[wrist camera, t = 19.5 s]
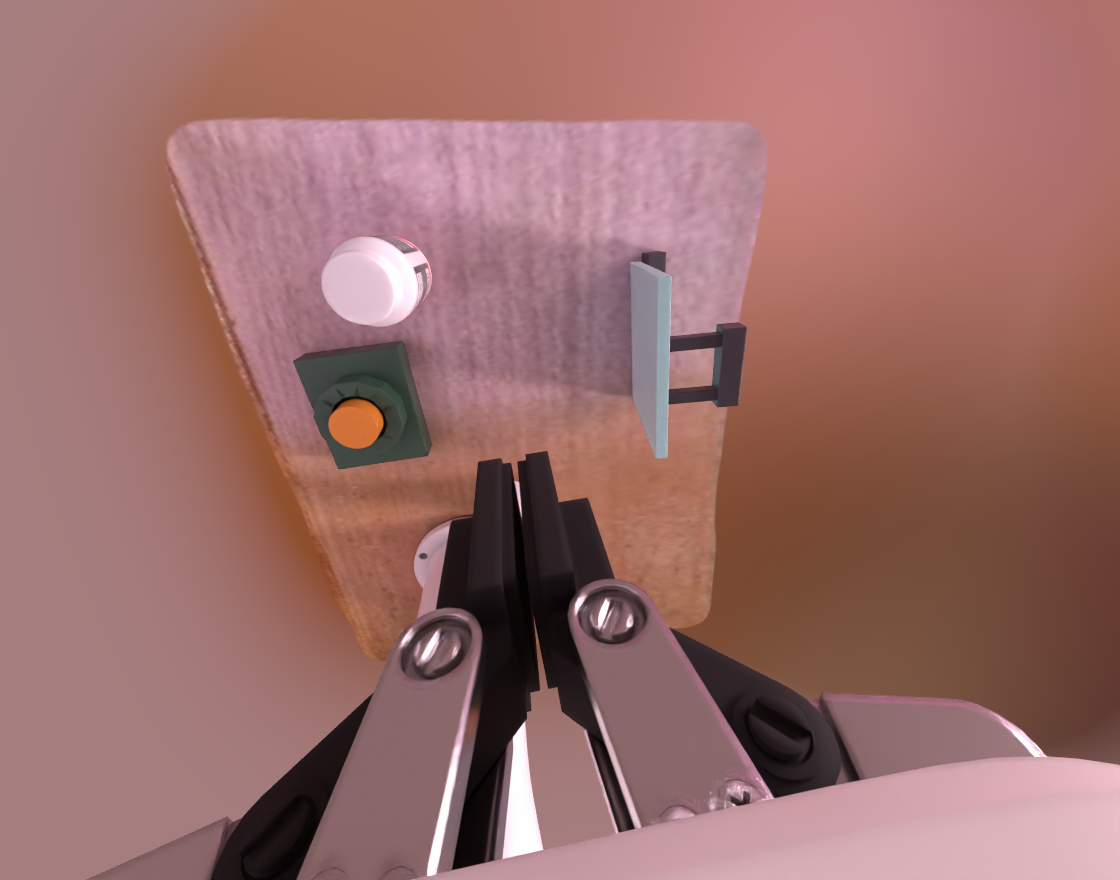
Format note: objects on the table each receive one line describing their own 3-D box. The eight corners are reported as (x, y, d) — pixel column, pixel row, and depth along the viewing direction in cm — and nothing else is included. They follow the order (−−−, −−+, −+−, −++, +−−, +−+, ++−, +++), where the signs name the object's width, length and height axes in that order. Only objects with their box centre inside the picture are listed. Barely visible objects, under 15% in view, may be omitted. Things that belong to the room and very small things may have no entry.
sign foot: (656, 397, 39) (663, 404, 38) (642, 399, 39) (648, 406, 38) (658, 251, 33) (666, 252, 32) (641, 253, 33) (649, 254, 32)
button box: (432, 444, 38) (425, 466, 35) (346, 457, 38) (330, 480, 34) (402, 340, 34) (391, 353, 30) (304, 353, 33) (281, 367, 30)
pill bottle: (344, 265, 31) (284, 277, 22) (397, 219, 30) (355, 213, 21) (397, 323, 33) (361, 354, 25) (447, 282, 32) (428, 300, 24)
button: (389, 435, 34) (384, 445, 32) (345, 442, 33) (337, 452, 32) (376, 395, 32) (369, 403, 30) (329, 401, 32) (320, 410, 30)
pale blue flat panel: (632, 399, 38) (691, 394, 38) (655, 459, 28) (735, 452, 28) (630, 262, 33) (699, 254, 32) (657, 277, 23) (756, 266, 23)
